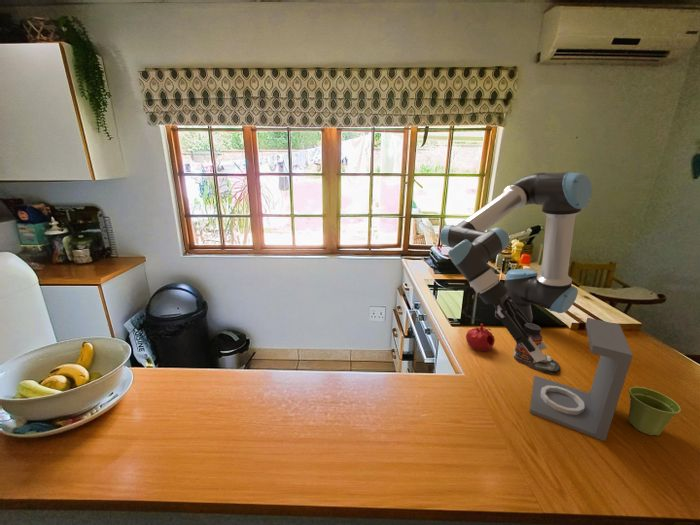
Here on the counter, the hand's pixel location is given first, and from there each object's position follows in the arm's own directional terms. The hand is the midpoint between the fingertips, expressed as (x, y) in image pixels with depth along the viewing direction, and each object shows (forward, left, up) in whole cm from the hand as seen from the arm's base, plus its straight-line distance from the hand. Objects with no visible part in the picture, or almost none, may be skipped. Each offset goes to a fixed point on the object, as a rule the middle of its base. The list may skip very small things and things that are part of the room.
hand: (541, 354), depth 84 cm
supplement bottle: (0, -4, -4) cm, 5 cm away
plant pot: (-4, +25, -14) cm, 29 cm away
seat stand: (-1, +8, -14) cm, 16 cm away
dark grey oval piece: (-20, +1, -14) cm, 25 cm away
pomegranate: (-19, -19, -14) cm, 30 cm away
